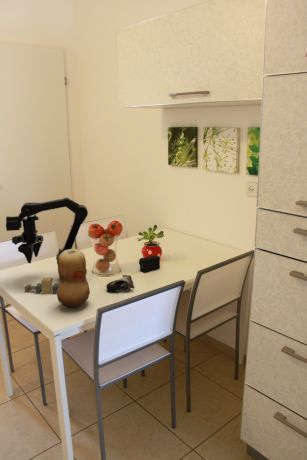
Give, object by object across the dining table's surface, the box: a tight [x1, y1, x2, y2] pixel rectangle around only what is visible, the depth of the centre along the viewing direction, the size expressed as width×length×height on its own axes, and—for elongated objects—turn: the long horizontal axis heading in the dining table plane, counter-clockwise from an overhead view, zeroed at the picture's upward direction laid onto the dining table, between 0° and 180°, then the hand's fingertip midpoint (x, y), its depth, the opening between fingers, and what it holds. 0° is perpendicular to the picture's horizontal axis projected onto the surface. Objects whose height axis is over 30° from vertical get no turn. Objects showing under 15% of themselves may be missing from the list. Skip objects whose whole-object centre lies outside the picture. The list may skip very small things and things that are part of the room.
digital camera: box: [138, 254, 161, 274], centre depth 208 cm, size 10×5×7 cm, turn 127°
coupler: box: [40, 277, 54, 295], centre depth 182 cm, size 4×4×6 cm
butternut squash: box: [56, 248, 91, 308], centre depth 165 cm, size 14×13×25 cm
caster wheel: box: [105, 274, 135, 294], centre depth 183 cm, size 7×11×10 cm
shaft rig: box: [23, 282, 60, 295], centre depth 182 cm, size 22×4×4 cm, turn 87°
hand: (32, 259), depth 191 cm, fingers open, 9 cm apart
